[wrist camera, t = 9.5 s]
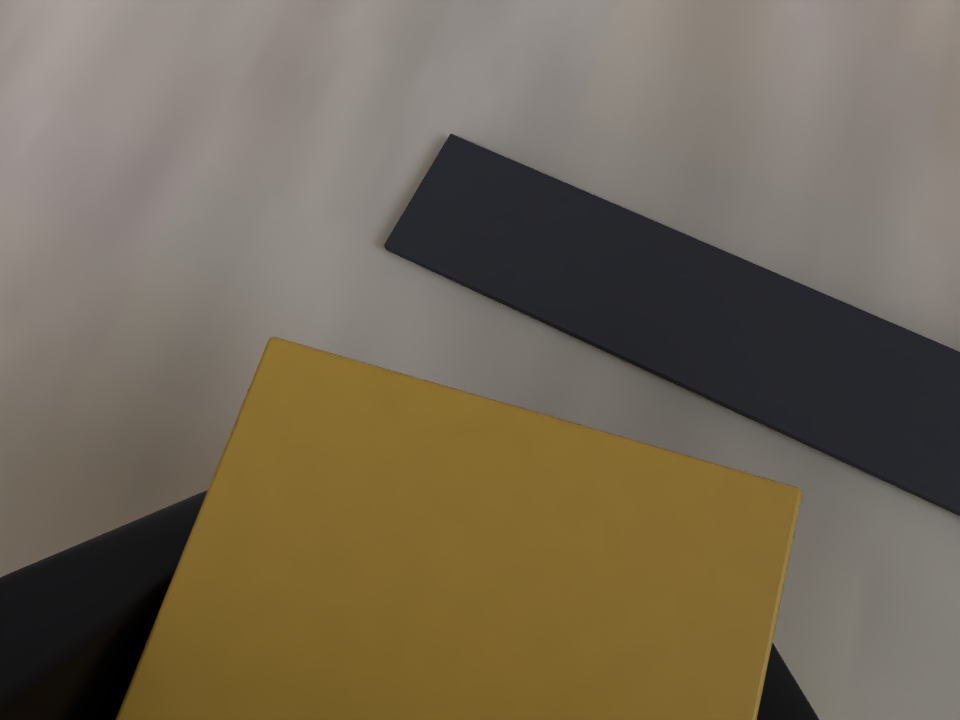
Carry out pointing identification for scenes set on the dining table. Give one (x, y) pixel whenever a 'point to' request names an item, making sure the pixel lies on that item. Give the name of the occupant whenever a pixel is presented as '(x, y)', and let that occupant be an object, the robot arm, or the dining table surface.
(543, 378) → the dining table surface
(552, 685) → the mustard block
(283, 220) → the dining table surface
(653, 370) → the bay mat
